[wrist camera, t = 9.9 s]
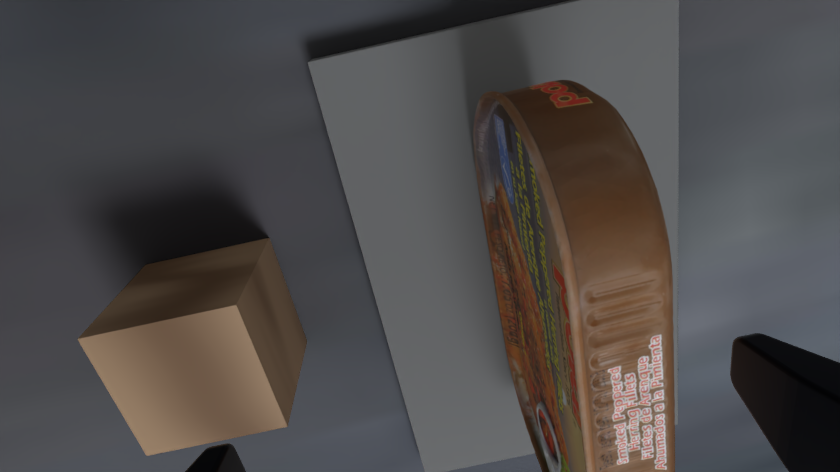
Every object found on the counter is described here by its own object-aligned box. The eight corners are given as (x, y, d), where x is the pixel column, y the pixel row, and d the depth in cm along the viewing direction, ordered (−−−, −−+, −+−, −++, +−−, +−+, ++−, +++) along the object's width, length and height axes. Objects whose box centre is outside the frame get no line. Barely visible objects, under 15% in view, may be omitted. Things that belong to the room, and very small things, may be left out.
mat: (424, 458, 25) (425, 475, 24) (311, 59, 17) (307, 62, 17) (667, 409, 25) (677, 424, 24) (663, -21, 17) (679, -23, 16)
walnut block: (195, 364, 22) (146, 455, 18) (146, 263, 20) (77, 339, 16) (307, 339, 22) (287, 426, 18) (269, 237, 20) (236, 304, 16)
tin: (458, 75, 17) (519, 134, 9) (553, 54, 17) (692, 96, 9) (516, 416, 23) (580, 619, 16) (585, 401, 23) (684, 599, 15)
